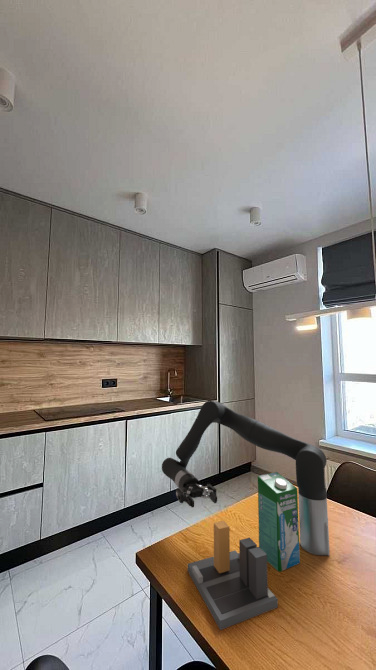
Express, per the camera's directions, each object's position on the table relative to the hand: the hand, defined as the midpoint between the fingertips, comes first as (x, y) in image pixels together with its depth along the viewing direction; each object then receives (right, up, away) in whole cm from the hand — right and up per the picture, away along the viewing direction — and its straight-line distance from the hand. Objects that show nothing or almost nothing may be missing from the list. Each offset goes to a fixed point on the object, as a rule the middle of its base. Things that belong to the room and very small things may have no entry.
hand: (204, 502), depth 94 cm
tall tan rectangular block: (+4, -12, -12) cm, 18 cm away
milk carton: (+24, -16, -4) cm, 29 cm away
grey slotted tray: (+6, -14, -16) cm, 22 cm away
